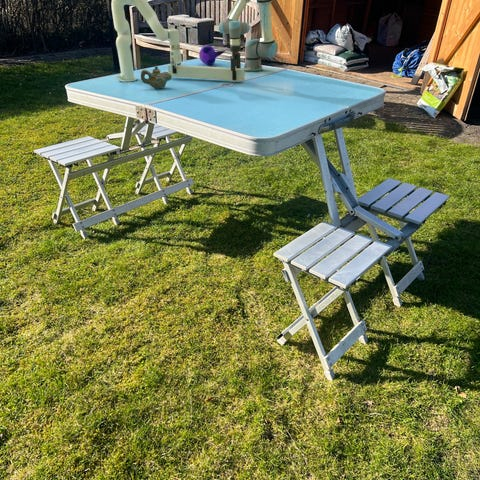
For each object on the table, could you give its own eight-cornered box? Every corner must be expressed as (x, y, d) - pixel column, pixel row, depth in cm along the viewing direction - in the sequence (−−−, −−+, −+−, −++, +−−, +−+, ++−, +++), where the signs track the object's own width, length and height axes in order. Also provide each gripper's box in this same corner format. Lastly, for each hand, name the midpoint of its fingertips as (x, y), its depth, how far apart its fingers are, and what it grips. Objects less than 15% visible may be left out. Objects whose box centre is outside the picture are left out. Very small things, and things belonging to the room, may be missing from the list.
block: (168, 76, 344) (167, 65, 340) (172, 75, 348) (171, 64, 344) (241, 81, 325) (241, 70, 321) (244, 79, 329) (244, 68, 326)
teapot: (171, 85, 322) (169, 63, 314) (174, 88, 312) (172, 66, 305) (141, 88, 316) (138, 65, 309) (143, 91, 307) (140, 68, 299)
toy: (209, 67, 381) (200, 66, 405) (227, 60, 385) (217, 60, 408) (203, 48, 374) (194, 48, 397) (222, 41, 377) (212, 42, 401)
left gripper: (173, 49, 326) (175, 75, 335) (184, 46, 340) (186, 71, 349) (164, 48, 328) (166, 74, 337) (175, 45, 342) (177, 70, 351)
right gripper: (235, 47, 308) (236, 82, 320) (244, 43, 323) (245, 76, 335) (225, 47, 310) (226, 81, 322) (235, 43, 325) (236, 76, 337)
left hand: (176, 72), depth 343 cm, fingers closed on block, 6 cm apart
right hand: (236, 79), depth 329 cm, fingers closed on block, 6 cm apart
